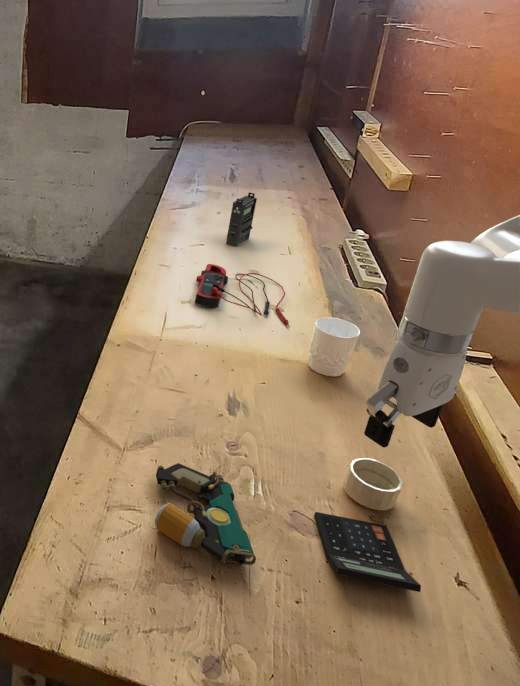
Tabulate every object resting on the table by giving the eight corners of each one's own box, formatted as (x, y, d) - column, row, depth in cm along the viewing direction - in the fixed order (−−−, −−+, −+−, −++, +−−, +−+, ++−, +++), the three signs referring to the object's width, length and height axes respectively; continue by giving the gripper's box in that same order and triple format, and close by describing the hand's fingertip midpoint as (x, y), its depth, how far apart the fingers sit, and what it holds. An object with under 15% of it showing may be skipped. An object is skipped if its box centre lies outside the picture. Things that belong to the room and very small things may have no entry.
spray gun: (157, 467, 96) (253, 498, 90) (140, 541, 82) (251, 583, 76) (161, 448, 94) (259, 477, 88) (144, 520, 80) (259, 561, 74)
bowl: (363, 473, 92) (370, 452, 90) (404, 504, 87) (413, 483, 85) (333, 486, 90) (340, 465, 88) (373, 518, 85) (381, 497, 83)
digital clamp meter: (188, 293, 140) (203, 255, 159) (186, 309, 142) (201, 269, 161) (293, 312, 130) (295, 269, 149) (289, 329, 132) (292, 284, 151)
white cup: (342, 359, 121) (354, 319, 116) (351, 381, 114) (365, 340, 109) (301, 354, 123) (311, 314, 118) (308, 375, 116) (319, 334, 112)
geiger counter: (237, 248, 174) (246, 202, 167) (223, 244, 177) (231, 199, 170) (253, 238, 180) (262, 194, 173) (239, 235, 183) (247, 191, 176)
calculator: (384, 529, 83) (390, 515, 81) (414, 603, 73) (422, 588, 72) (314, 515, 85) (318, 501, 84) (333, 585, 75) (339, 570, 74)
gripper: (417, 363, 69) (382, 466, 77) (508, 330, 74) (466, 430, 82) (360, 334, 75) (332, 432, 83) (447, 305, 81) (413, 400, 88)
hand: (399, 431), depth 82 cm, fingers open, 9 cm apart
